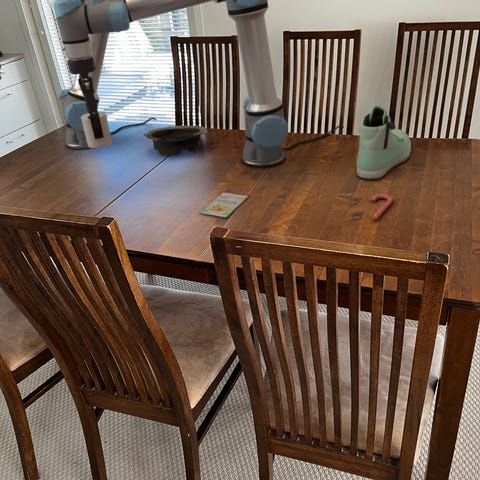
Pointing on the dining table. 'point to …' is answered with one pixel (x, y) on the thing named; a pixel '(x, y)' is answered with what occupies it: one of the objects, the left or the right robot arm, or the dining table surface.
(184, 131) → the stone bowl
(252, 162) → the right robot arm
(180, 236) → the dining table surface
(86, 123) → the canister
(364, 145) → the sneaker
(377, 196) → the candy cane
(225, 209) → the baking ingredient package
